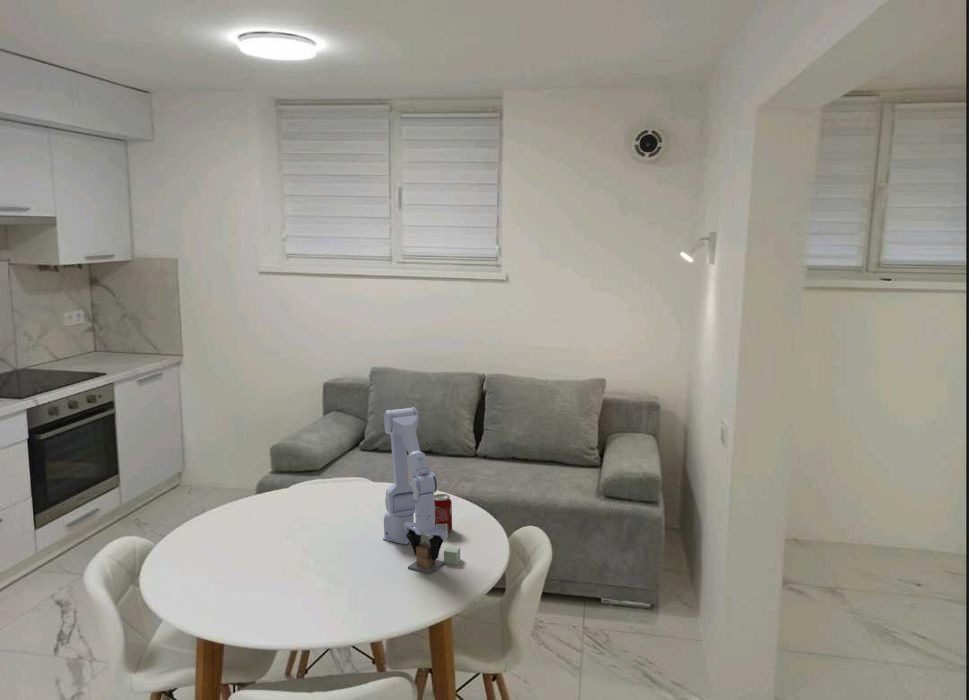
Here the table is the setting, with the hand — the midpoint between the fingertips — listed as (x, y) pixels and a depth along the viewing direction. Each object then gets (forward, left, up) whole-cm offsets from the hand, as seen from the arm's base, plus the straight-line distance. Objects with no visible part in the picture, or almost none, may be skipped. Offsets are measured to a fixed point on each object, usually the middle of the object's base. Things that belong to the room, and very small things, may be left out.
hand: (426, 556), depth 223 cm
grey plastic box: (-10, +16, -3) cm, 19 cm away
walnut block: (0, 0, -2) cm, 2 cm away
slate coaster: (0, 0, -3) cm, 3 cm away
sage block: (+5, +6, -3) cm, 9 cm away
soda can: (-10, +24, -3) cm, 26 cm away
